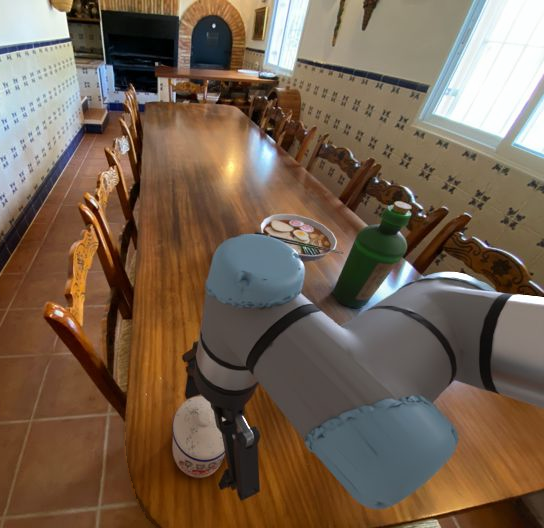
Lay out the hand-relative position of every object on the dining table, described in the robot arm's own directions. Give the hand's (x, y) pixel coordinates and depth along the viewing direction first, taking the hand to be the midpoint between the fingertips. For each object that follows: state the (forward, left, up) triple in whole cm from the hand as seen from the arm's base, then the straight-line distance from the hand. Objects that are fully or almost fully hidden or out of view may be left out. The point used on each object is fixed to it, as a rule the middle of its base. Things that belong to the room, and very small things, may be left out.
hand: (208, 434), depth 47 cm
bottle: (+20, -51, -5) cm, 55 cm away
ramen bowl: (+42, -48, -5) cm, 64 cm away
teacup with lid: (0, 0, -5) cm, 5 cm away
